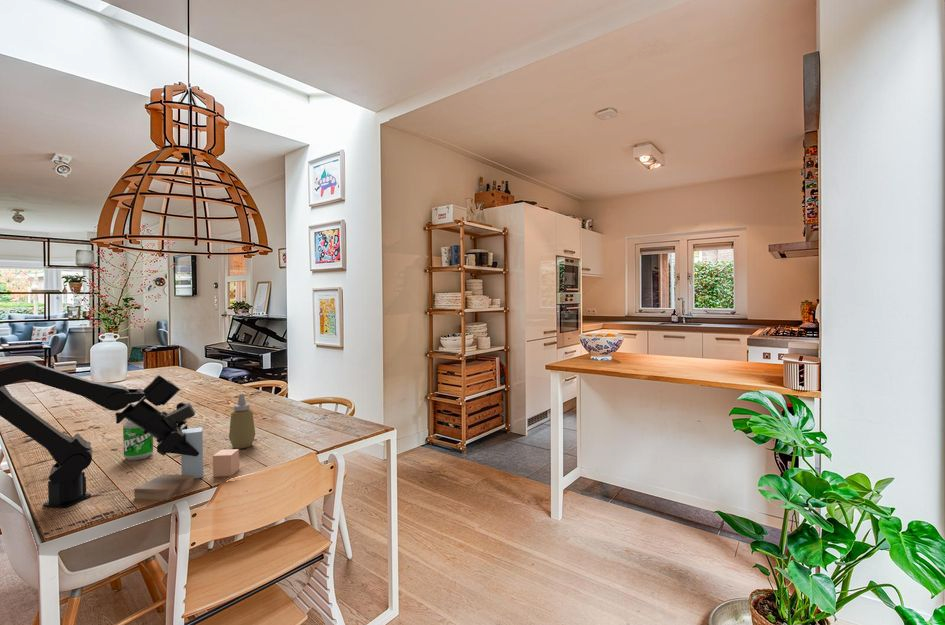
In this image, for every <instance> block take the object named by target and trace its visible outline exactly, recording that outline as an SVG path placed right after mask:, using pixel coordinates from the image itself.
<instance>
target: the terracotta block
mask: <svg viewBox="0 0 945 625" xmlns="http://www.w3.org/2000/svg"><path fill="white" fill-rule="evenodd" d="M239 470H240V449H236V448H233V449H231V448H230V449H220V450H218V451H217V452H215V454H213V455H212V477H231V476H233V475H234V474H235V473H236V472H237V471H239Z"/></svg>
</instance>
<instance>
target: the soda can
mask: <svg viewBox="0 0 945 625" xmlns="http://www.w3.org/2000/svg"><path fill="white" fill-rule="evenodd" d="M122 432H123V433H122V435H123V436H122V441H123V457H124V458H125V459H126V460H128V461H139V460H143V459H147V458H150V456H151V455H152V454H153V452H154V437H153V436H152V435H150V434H149V433H147V434H144V433H143V430H142V429H141V428H139V427H138V426H136V425H135V424H133V423H132V422H130V421H129V420H126V422H124V424H122Z"/></svg>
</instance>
